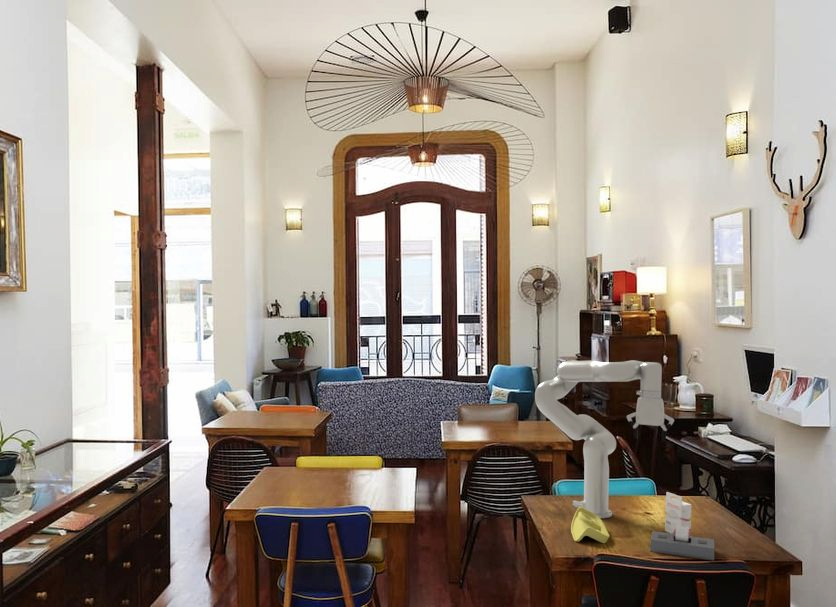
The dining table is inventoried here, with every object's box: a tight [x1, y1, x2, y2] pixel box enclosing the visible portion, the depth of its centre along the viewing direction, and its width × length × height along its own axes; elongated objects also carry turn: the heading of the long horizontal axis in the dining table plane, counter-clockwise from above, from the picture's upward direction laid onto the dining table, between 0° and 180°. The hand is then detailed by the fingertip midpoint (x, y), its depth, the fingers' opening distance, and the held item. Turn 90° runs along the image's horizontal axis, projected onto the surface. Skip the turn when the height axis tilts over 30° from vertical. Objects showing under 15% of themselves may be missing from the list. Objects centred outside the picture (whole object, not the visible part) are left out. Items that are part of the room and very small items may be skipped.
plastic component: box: [570, 507, 610, 544], centre depth 255 cm, size 20×7×10 cm
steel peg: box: [675, 525, 689, 543], centre depth 240 cm, size 4×4×8 cm
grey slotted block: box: [649, 530, 715, 562], centre depth 240 cm, size 20×10×4 cm, turn 68°
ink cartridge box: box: [664, 491, 692, 536], centre depth 258 cm, size 9×5×15 cm, turn 23°
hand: (649, 439), depth 269 cm, fingers open, 9 cm apart
